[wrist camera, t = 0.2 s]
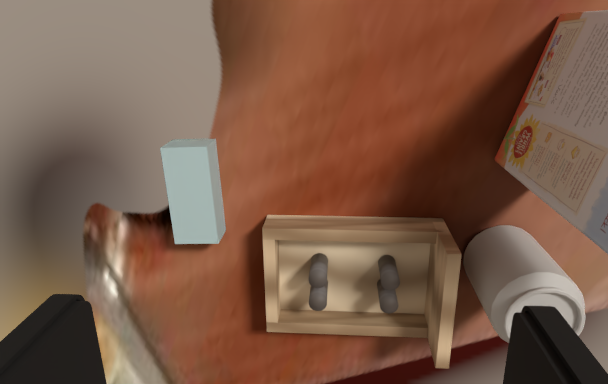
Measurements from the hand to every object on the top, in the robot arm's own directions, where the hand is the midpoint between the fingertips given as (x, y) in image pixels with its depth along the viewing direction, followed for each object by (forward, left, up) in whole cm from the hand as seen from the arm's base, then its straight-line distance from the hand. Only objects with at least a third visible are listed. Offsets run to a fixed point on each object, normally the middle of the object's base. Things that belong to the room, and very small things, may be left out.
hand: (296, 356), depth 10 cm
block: (+9, -14, -37) cm, 40 cm away
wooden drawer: (+18, +2, -36) cm, 40 cm away
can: (+16, +17, -36) cm, 43 cm away
